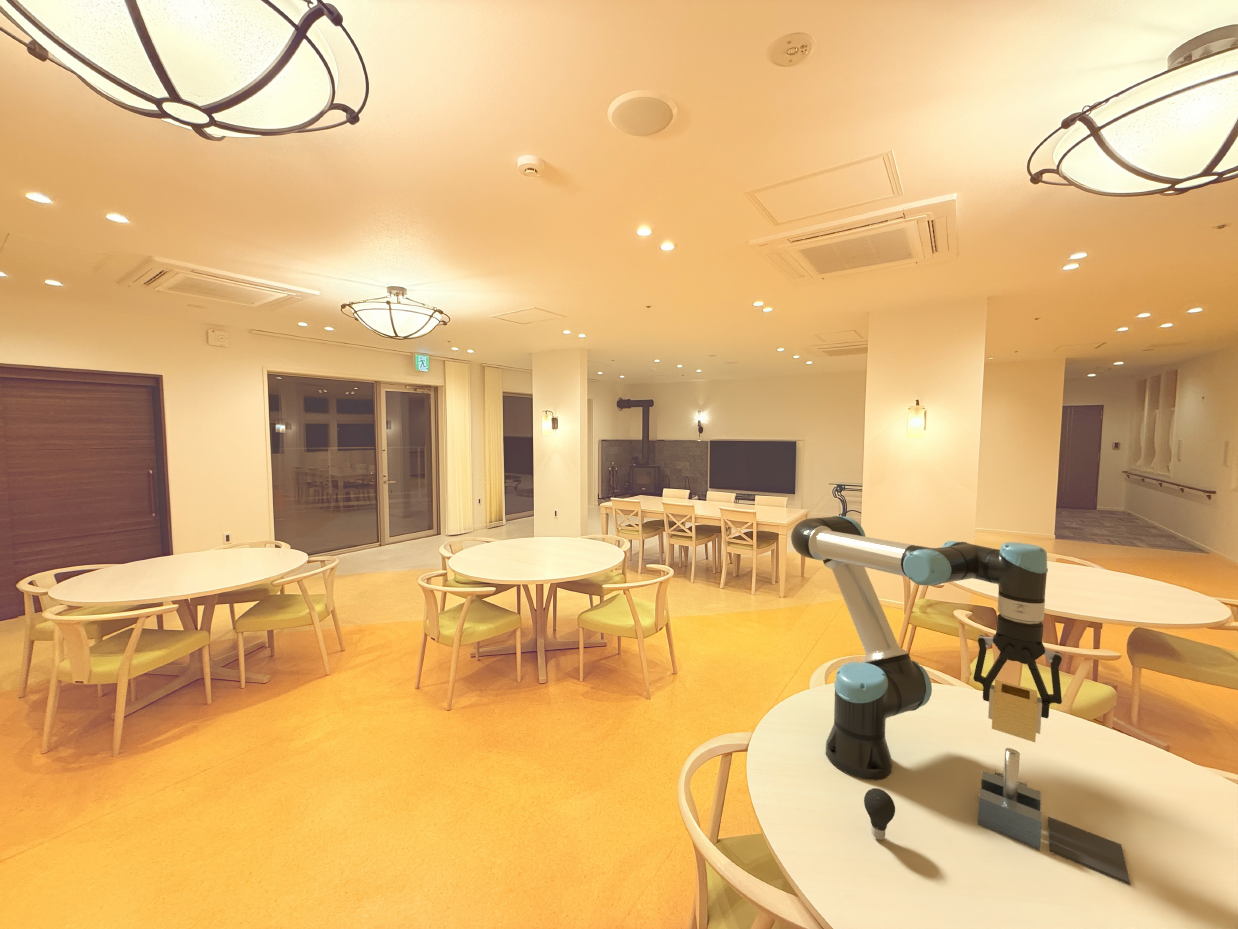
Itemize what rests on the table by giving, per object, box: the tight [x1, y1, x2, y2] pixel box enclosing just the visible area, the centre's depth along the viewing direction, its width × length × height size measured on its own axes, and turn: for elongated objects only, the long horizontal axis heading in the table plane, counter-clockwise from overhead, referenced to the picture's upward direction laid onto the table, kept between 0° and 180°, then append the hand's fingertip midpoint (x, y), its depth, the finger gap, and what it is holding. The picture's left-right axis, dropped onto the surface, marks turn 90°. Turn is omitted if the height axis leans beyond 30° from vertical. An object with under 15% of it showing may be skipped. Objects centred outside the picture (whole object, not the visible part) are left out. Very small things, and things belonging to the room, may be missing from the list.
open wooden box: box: [991, 679, 1038, 743], centre depth 102 cm, size 7×7×8 cm
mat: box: [1047, 816, 1131, 886], centre depth 96 cm, size 11×11×1 cm
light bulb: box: [863, 787, 896, 841], centre depth 98 cm, size 6×6×10 cm
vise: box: [977, 747, 1043, 852], centre depth 106 cm, size 10×18×16 cm, turn 140°
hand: (1013, 723), depth 102 cm, fingers closed on open wooden box, 7 cm apart
